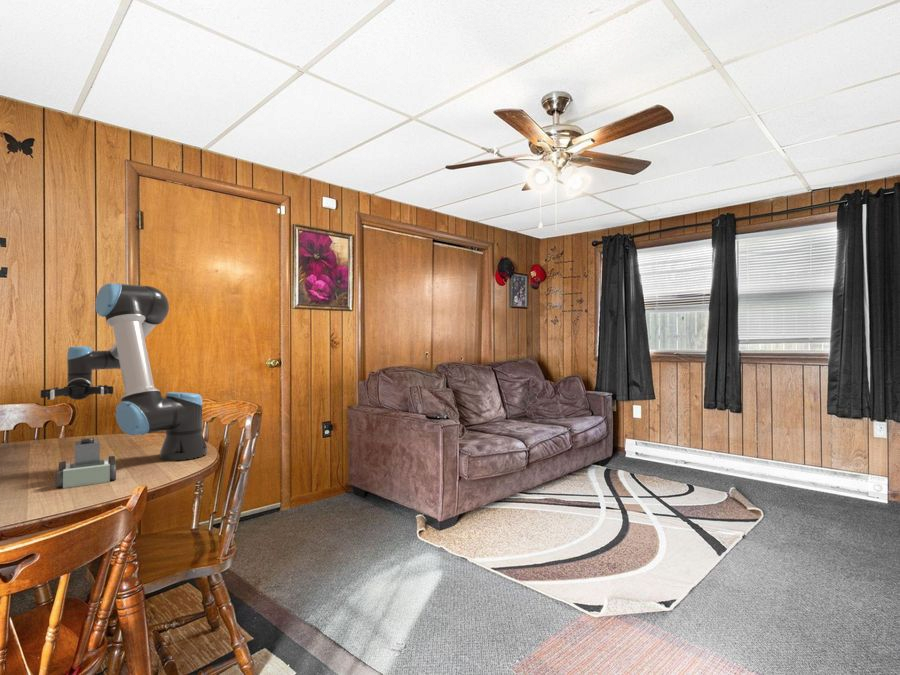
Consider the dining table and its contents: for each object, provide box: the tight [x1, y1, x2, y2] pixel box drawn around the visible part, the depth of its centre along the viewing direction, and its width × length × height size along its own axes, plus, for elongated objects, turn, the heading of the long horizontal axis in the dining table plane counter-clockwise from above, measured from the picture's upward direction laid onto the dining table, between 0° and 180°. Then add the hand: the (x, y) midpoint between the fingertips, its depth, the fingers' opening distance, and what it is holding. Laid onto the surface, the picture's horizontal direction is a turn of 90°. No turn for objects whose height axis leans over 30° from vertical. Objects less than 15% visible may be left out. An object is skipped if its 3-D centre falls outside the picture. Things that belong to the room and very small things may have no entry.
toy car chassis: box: [55, 455, 117, 489], centre depth 150 cm, size 17×14×5 cm
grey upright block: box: [74, 437, 101, 468], centre depth 150 cm, size 6×6×10 cm
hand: (77, 394), depth 164 cm, fingers open, 13 cm apart
